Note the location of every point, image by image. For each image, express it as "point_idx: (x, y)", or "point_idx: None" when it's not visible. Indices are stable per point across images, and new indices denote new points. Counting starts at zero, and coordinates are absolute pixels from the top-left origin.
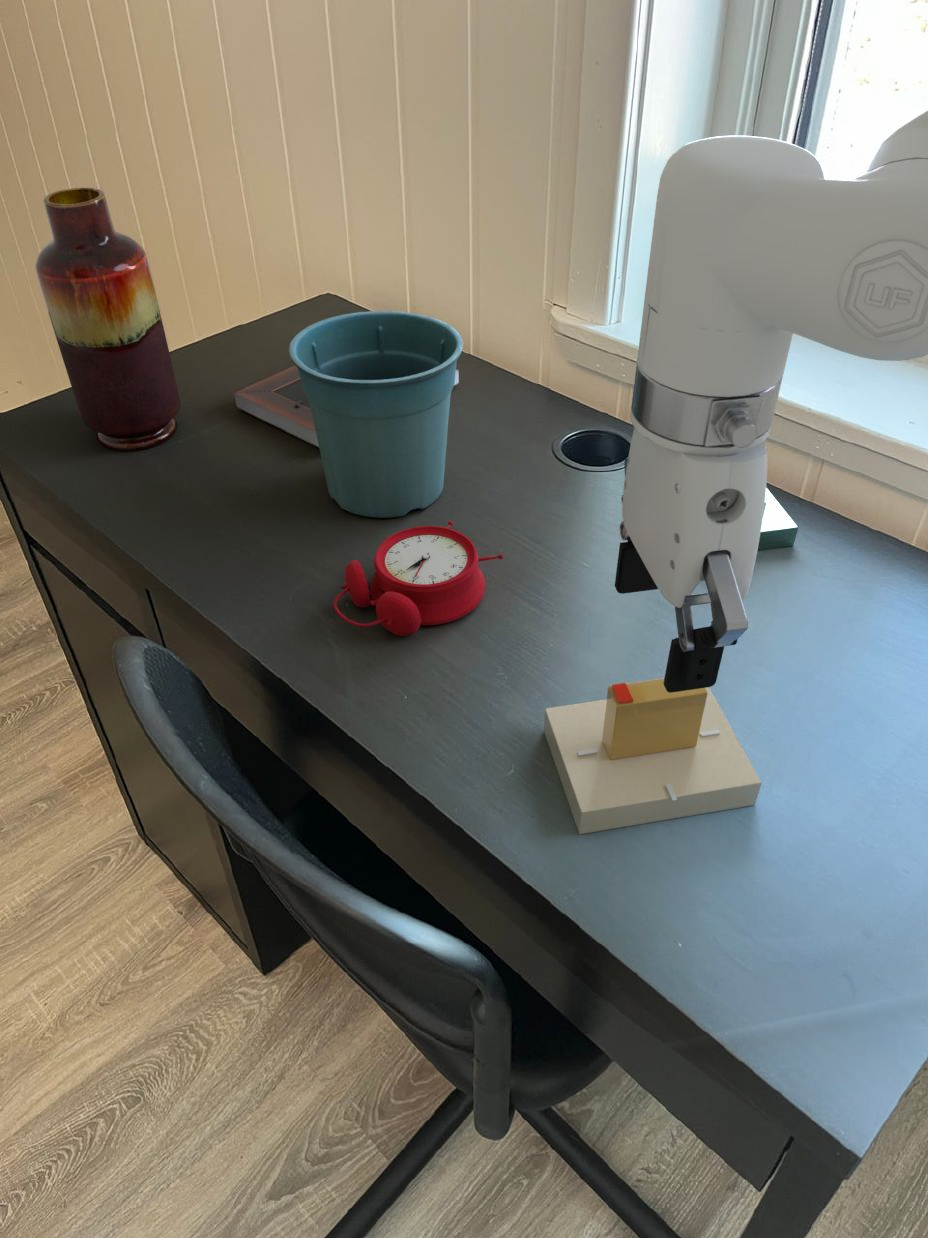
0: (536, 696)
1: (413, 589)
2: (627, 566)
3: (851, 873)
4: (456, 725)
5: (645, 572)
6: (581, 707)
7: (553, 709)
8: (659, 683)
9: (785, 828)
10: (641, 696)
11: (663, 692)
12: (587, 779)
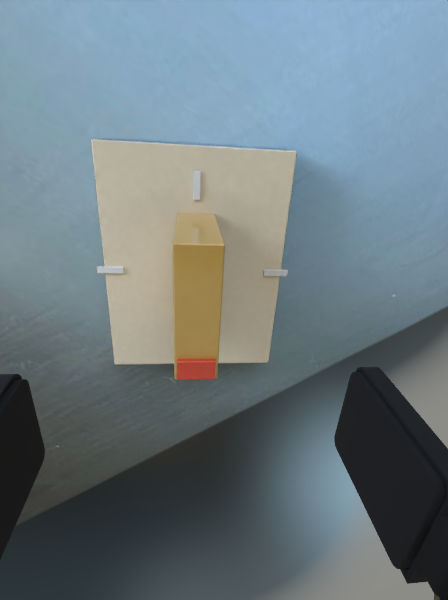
0: (64, 338)
1: None
2: (6, 530)
3: (412, 76)
4: (102, 413)
5: (6, 461)
6: (119, 327)
7: (118, 356)
8: (185, 312)
9: (327, 127)
10: (207, 345)
11: (206, 312)
12: (229, 348)
